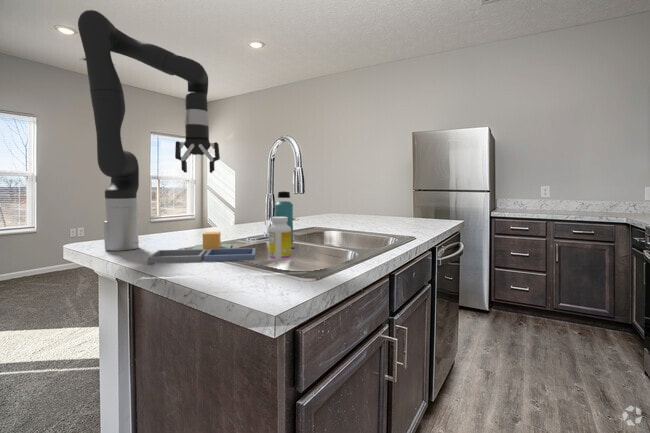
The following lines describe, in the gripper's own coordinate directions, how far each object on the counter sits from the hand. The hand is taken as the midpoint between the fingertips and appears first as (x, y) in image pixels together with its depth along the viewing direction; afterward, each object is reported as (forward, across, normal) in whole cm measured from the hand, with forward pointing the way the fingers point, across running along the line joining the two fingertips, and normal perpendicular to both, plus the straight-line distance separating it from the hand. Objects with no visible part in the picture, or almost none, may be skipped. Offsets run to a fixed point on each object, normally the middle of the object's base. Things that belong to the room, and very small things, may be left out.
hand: (198, 172), depth 120 cm
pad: (+26, -5, +7) cm, 27 cm away
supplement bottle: (+26, -27, +24) cm, 45 cm away
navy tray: (+26, -12, +20) cm, 35 cm away
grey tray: (+26, +2, +20) cm, 33 cm away
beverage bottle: (+26, -29, +8) cm, 40 cm away
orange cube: (+25, -5, +7) cm, 27 cm away
